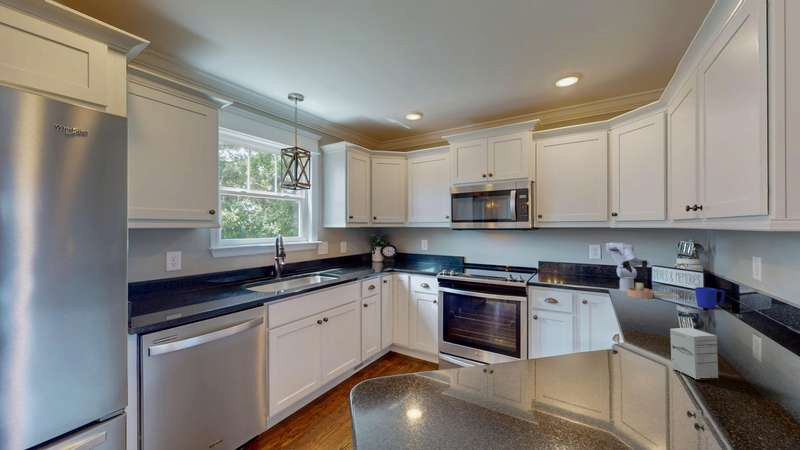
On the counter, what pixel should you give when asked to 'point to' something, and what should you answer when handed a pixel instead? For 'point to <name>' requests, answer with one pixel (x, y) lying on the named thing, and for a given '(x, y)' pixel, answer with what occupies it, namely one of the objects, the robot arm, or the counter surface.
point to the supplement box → (694, 352)
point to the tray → (665, 294)
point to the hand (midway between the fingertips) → (638, 271)
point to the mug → (708, 297)
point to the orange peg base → (640, 293)
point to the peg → (639, 286)
